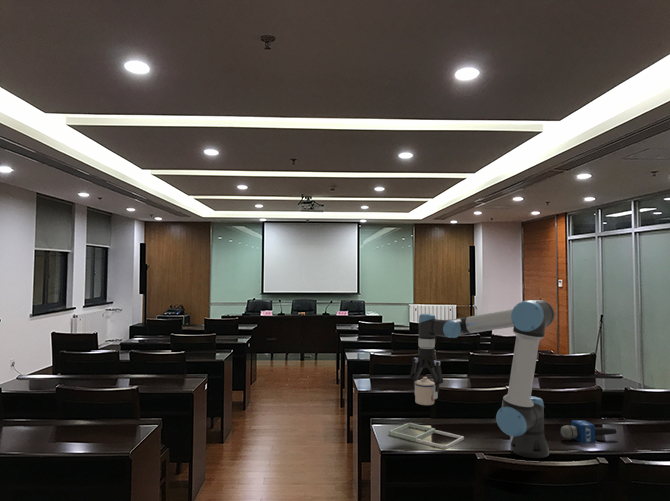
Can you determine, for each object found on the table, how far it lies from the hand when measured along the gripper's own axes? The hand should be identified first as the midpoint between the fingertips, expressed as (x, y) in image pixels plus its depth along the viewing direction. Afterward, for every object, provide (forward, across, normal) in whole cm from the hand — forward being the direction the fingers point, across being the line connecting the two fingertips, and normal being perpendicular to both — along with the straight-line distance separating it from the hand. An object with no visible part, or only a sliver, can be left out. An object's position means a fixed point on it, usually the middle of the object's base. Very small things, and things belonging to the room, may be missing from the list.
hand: (426, 396), depth 224 cm
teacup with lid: (+3, +1, 0) cm, 3 cm away
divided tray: (+18, 0, 0) cm, 18 cm away
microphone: (+17, -58, -46) cm, 76 cm away
